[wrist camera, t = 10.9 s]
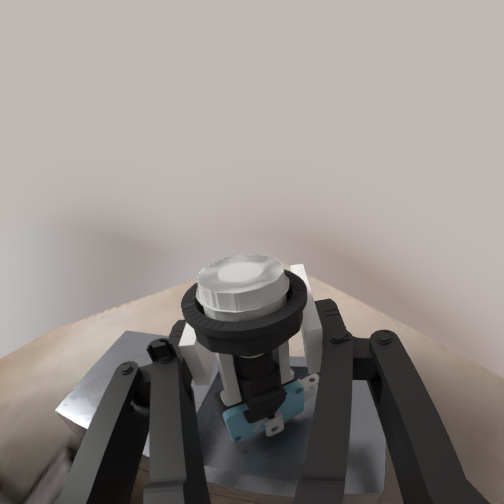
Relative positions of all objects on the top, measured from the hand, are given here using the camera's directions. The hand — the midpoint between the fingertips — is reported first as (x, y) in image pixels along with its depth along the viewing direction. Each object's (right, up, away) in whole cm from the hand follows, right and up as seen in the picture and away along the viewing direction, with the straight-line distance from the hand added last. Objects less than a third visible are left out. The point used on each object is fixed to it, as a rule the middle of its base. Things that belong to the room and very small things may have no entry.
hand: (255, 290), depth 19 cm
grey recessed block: (-3, -10, 0) cm, 10 cm away
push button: (+1, -8, -3) cm, 8 cm away
